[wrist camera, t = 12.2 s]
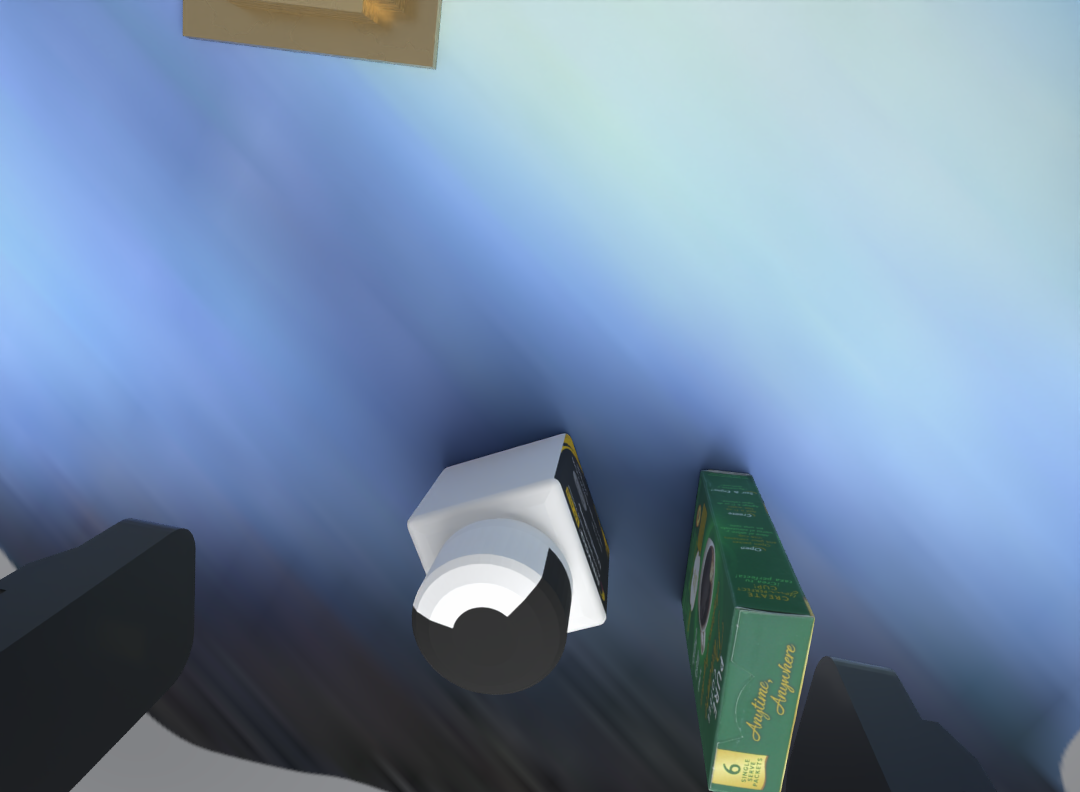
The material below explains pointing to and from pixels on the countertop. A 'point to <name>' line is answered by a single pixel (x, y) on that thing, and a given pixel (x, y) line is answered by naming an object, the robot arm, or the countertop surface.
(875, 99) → the countertop surface
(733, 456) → the countertop surface
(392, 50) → the collar
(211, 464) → the countertop surface
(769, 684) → the coffee box
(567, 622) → the medicine bottle
